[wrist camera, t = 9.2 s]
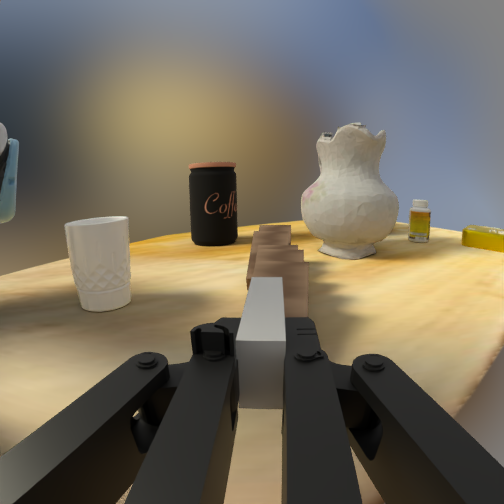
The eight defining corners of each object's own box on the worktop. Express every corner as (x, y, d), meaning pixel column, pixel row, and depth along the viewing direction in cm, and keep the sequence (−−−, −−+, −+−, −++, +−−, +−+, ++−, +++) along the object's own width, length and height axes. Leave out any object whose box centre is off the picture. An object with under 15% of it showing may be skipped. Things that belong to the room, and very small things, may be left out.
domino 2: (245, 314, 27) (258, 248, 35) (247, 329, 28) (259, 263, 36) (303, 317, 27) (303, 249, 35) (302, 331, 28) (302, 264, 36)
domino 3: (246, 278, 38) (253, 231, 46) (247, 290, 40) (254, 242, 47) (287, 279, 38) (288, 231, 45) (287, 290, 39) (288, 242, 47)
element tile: (513, 246, 64) (514, 229, 63) (513, 255, 54) (515, 235, 53) (468, 239, 75) (469, 222, 74) (460, 246, 65) (461, 227, 64)
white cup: (117, 287, 41) (109, 215, 38) (148, 300, 36) (140, 217, 34) (67, 302, 34) (56, 223, 32) (92, 320, 30) (78, 226, 28)
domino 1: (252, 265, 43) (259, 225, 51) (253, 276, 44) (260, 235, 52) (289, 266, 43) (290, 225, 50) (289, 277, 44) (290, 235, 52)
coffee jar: (205, 248, 65) (202, 161, 61) (184, 242, 74) (181, 165, 70) (247, 242, 72) (245, 162, 68) (222, 236, 80) (220, 165, 76)
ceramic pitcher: (277, 251, 67) (268, 132, 61) (343, 236, 76) (337, 134, 69) (351, 276, 48) (344, 115, 42) (415, 252, 57) (412, 126, 51)
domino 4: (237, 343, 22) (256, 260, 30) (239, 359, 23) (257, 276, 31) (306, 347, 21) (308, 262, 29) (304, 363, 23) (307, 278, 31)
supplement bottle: (431, 243, 67) (433, 201, 65) (410, 242, 69) (412, 199, 66) (426, 239, 72) (428, 200, 70) (406, 238, 74) (408, 198, 72)
